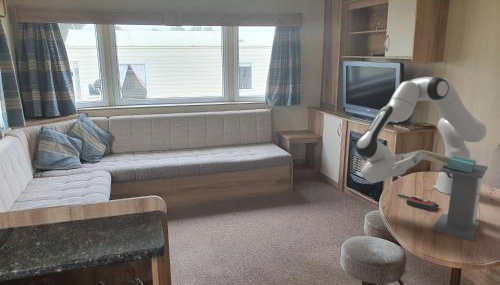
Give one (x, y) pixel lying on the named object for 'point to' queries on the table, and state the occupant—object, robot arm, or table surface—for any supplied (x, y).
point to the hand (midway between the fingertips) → (429, 153)
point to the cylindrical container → (477, 194)
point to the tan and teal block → (451, 161)
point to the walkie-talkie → (420, 202)
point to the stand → (461, 203)
